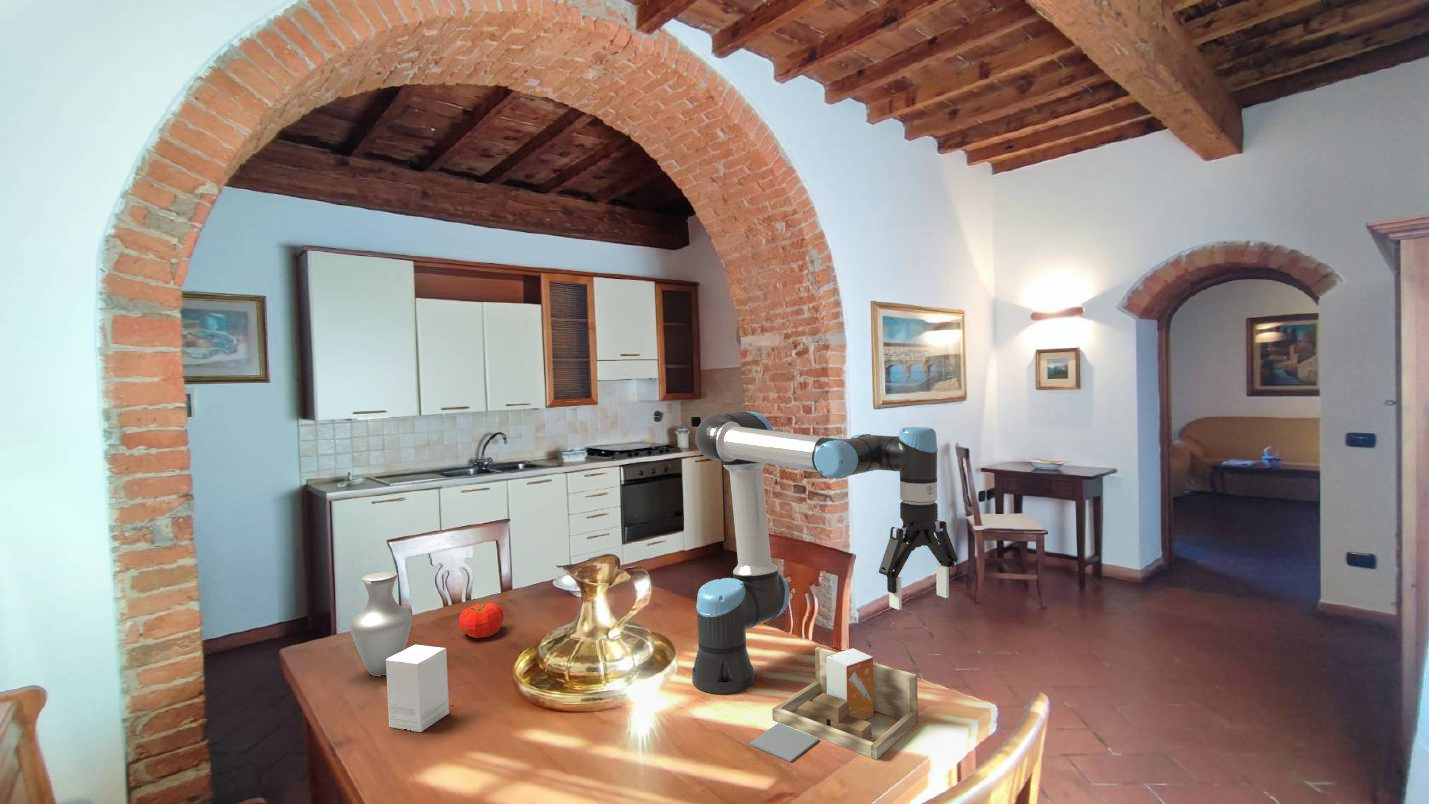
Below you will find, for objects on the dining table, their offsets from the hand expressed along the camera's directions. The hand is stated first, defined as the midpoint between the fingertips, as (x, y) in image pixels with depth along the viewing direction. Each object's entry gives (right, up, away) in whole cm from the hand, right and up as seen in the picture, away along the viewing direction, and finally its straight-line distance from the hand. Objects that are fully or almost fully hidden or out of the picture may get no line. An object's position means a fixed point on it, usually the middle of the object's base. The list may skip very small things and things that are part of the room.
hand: (919, 602), depth 141 cm
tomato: (-112, -27, +57) cm, 128 cm away
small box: (-14, -26, +3) cm, 29 cm away
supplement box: (-108, -28, +7) cm, 112 cm away
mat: (-29, -26, -7) cm, 40 cm away
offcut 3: (-15, -26, -5) cm, 31 cm away
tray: (-15, -26, +1) cm, 30 cm away
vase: (-129, -28, +33) cm, 136 cm away
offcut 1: (-21, -26, 0) cm, 34 cm away
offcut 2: (-19, -23, -2) cm, 30 cm away
